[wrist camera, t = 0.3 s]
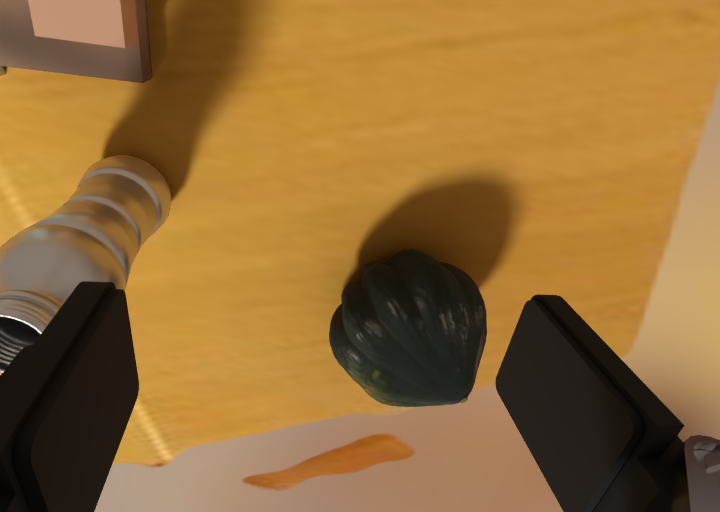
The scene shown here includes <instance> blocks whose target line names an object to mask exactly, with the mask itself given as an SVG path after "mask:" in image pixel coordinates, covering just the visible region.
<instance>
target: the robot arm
mask: <svg viewBox="0 0 720 512" xmlns="http://www.w3.org/2000/svg"><path fill="white" fill-rule="evenodd" d="M496 389H497V391H498V394H499V396H500V397H501V399H502V401H503V403H504V405H505V407H506V408H507V410H508V412H509V414H510V416H511V417H512V419H513V421H514V423H515V425H516V426H517V428H518V430H519V432H520V434H521V435H522V437H523V439H524V441H525V442H526V444H527V446H528V448H529V450H530V452H531V453H532V455H533V457H534V459H535V461H536V462H537V464H538V466H539V468H540V470H541V472H542V473H543V475H544V477H545V478H546V481H547V482H548V484H549V486H550V488H551V490H552V491H553V493H554V495H555V497H556V499H557V500H558V502H559V504H560V506H561V508H562V509H563V511H564V512H720V440H718V439H715V438H712V437H709V436H703V435H695V436H690V437H689V438H688V439H686V440H685V442H684V443H683V442H682V441H681V440H680V439H679V437H678V436H677V435H678V434H679V432H680V431H681V429H682V428H683V427H684V425H683V424H682V423H681V422H680V421H679V420H678V418H677V417H676V416H675V415H674V414H673V413H672V412H671V411H670V410H669V409H668V408H667V407H666V406H665V405H664V404H663V403H662V402H661V401H660V400H659V399H658V398H657V396H656V395H655V394H654V393H653V392H651V390H650V389H649V388H648V387H647V386H646V385H645V384H644V383H643V382H642V381H641V380H640V379H639V378H638V377H637V376H636V375H635V373H634V372H633V371H632V370H631V369H630V368H629V367H628V366H627V365H626V364H625V363H624V362H623V361H622V360H621V359H620V358H619V357H618V356H617V355H616V354H615V353H614V351H613V350H612V349H611V348H610V347H609V346H608V345H607V344H606V343H605V342H604V341H603V340H602V339H601V338H600V337H599V336H598V335H597V334H596V333H595V332H594V331H593V330H592V328H591V327H590V326H589V325H588V324H587V323H586V322H585V321H584V320H583V319H582V318H581V317H580V316H579V315H578V314H577V313H576V312H575V311H574V310H573V309H572V308H571V307H570V305H569V304H568V303H567V302H566V301H565V300H564V299H563V298H562V297H560V296H557V295H535V296H533V297H532V298H531V300H529V301H527V302H526V303H525V305H524V308H523V310H522V313H521V315H520V318H519V321H518V323H517V326H516V328H515V331H514V333H513V336H512V338H511V341H510V344H509V346H508V349H507V351H506V354H505V356H504V359H503V361H502V364H501V367H500V369H499V372H498V374H497V377H496ZM138 390H139V380H138V373H137V367H136V360H135V354H134V347H133V341H132V334H131V327H130V321H129V314H128V308H127V301H126V295H125V292H124V290H123V289H116V286H115V284H114V283H112V282H93V281H82V282H80V283H79V284H78V285H77V286H76V288H75V289H74V290H73V292H72V293H71V294H70V296H69V297H68V298H67V300H66V301H65V302H64V304H63V305H62V306H61V308H60V309H59V310H58V312H57V313H56V314H55V316H54V317H53V318H52V320H51V321H50V322H49V324H48V325H47V327H46V328H45V329H44V331H43V332H42V333H41V335H40V336H39V337H38V339H37V340H36V341H35V343H34V344H33V345H28V346H26V347H24V348H23V349H22V350H21V351H20V352H19V353H18V354H17V355H16V356H15V358H14V359H13V360H12V362H11V363H10V364H9V365H8V367H7V368H6V369H5V371H4V372H3V373H2V374H1V376H0V512H94V510H95V508H96V505H97V503H98V500H99V497H100V495H101V492H102V489H103V487H104V484H105V482H106V479H107V476H108V474H109V471H110V468H111V466H112V463H113V460H114V458H115V455H116V452H117V450H118V447H119V445H120V442H121V439H122V437H123V434H124V431H125V429H126V426H127V423H128V421H129V418H130V416H131V413H132V410H133V408H134V405H135V402H136V399H137V396H138Z"/></svg>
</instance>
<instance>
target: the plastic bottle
mask: <svg viewBox="0 0 720 512" xmlns="http://www.w3.org/2000/svg"><path fill="white" fill-rule="evenodd" d="M170 203H171V194H170V189H169V186H168V184H167V182H166V180H165V179H164V177H163V176H162V174H161V173H160V172H159V171H158V170H157V169H156V168H155V167H153V166H152V165H151V164H149V163H148V162H146V161H144V160H142V159H139V158H137V157H134V156H128V155H116V156H112V157H108V158H105V159H102V160H100V161H98V162H96V163H94V164H93V165H92V166H91V167H89V168H88V170H87V171H86V172H85V174H84V175H83V177H82V179H81V180H80V182H79V185H78V187H77V190H76V191H75V192H74V194H73V195H72V196H71V197H70V199H69V200H68V201H67V203H65V204H64V205H63V206H62V207H60V208H59V209H58V210H56V211H55V212H54V213H52V214H51V215H50V216H48V217H46V218H45V219H43V220H41V221H39V222H37V223H35V224H34V225H32V226H30V227H28V228H26V229H25V230H23V231H21V232H19V233H18V234H16V235H15V236H14V237H12V238H11V239H9V240H8V241H7V242H6V243H4V244H3V245H2V246H1V247H0V372H2V373H3V372H4V371H5V369H6V368H7V367H8V365H9V364H10V363H11V362H12V360H13V359H14V358H15V356H16V355H17V354H18V353H19V352H20V351H21V350H22V349H23V348H24V347H26V346H28V345H33V344H34V343H35V341H36V340H37V339H38V337H39V336H40V335H41V333H42V332H43V331H44V329H45V328H46V327H47V325H48V324H49V322H50V321H51V320H52V318H53V317H54V316H55V314H56V313H57V312H58V310H59V309H60V308H61V306H62V305H63V304H64V302H65V301H66V300H67V298H68V297H69V296H70V294H71V293H72V292H73V290H74V289H75V288H76V286H77V285H78V284H79V283H80V282H82V281H93V282H112V283H114V284H115V286H116V289H123V290H124V292H125V289H126V285H127V281H128V277H129V274H130V270H131V266H132V264H133V262H134V260H135V257H136V255H137V253H138V251H139V249H140V248H141V246H142V245H143V244H144V243H145V241H146V240H147V239H148V238H149V237H150V236H151V235H152V234H154V233H155V232H156V231H157V230H158V229H159V228H160V227H161V226H162V225H163V223H164V222H165V221H166V219H167V217H168V215H169V210H170Z"/></svg>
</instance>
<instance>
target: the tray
mask: <svg viewBox="0 0 720 512" xmlns="http://www.w3.org/2000/svg"><path fill="white" fill-rule="evenodd" d="M4 74H5V70H4V66H0V75H4Z"/></svg>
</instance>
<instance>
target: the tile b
mask: <svg viewBox="0 0 720 512" xmlns="http://www.w3.org/2000/svg"><path fill="white" fill-rule="evenodd" d="M28 3H29V8H30V13H31V18H32V23H33V28H34V33H35V36H39V37H46V38H54V39H61V40H68V41H76V42H83V43H91V44H98V45H105V46H113V47H120V48H128V47H132V46H135V45H139V37H138V26H137V16H136V5H135V0H28Z"/></svg>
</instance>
